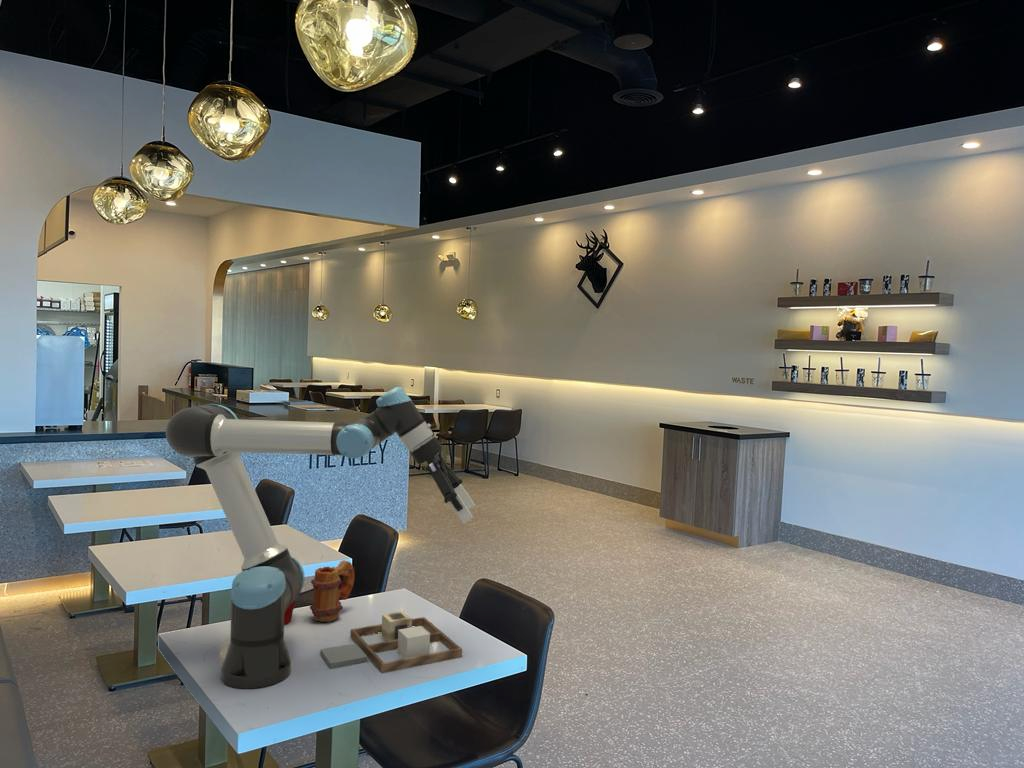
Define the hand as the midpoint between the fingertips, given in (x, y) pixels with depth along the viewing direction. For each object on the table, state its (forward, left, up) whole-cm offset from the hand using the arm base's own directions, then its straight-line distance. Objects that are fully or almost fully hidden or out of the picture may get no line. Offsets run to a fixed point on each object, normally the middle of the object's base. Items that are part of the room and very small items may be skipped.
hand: (469, 514), depth 178 cm
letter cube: (-12, +17, -36) cm, 41 cm away
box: (-12, +11, -36) cm, 39 cm away
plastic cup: (-36, +41, -36) cm, 66 cm away
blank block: (-12, +5, -36) cm, 38 cm away
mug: (-22, +39, -36) cm, 58 cm away
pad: (-28, +11, -36) cm, 47 cm away
